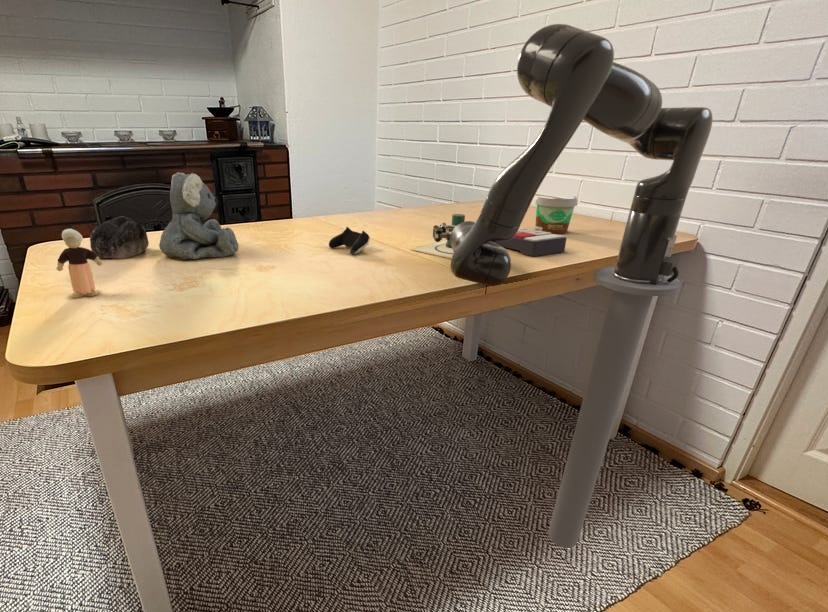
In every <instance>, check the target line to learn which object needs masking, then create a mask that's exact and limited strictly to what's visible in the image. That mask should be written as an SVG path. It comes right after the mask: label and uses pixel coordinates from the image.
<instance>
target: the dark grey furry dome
mask: <svg viewBox="0 0 828 612" xmlns="http://www.w3.org/2000/svg"><path fill="white" fill-rule="evenodd" d="M89 237H90V238H89V242H90V243H89V244H90V246H89V247H90V250H91V251H93V252H94V253H96V254H97V256H98V257H99V259H127V258H131V257H134V256H137V255H139V254H141V253H143V252H145V251H146V250H147V249H148V247H149V244H150V242H149V241H150V240H149V238H148V233H147V230H146V228H145V226H144V225H143V224H141V223H137V222H136V221H134V220H133V219H131V218H129V217H127V216H125V215H119V216H117V217H114V218H111V219H109V220H106V221H104V222H102V223H101V224H99V225H98V226H96V227H95V228H94V229H93V230H92V231H91V233H90V234H89Z"/></svg>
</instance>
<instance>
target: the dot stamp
mask: <svg viewBox="0 0 828 612" xmlns="http://www.w3.org/2000/svg"><path fill="white" fill-rule="evenodd" d="M465 219H466V215H465V214H461V213H454V214H452V215H451V225H455V226H457V225H458V224H460V223H462V222H466V221H465ZM446 247H448V248H452V247H451V244H450V241H448V240H447V242H446Z"/></svg>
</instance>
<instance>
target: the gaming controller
mask: <svg viewBox="0 0 828 612" xmlns="http://www.w3.org/2000/svg"><path fill="white" fill-rule="evenodd" d="M370 240H371V237H370V235H369V233H367V232H366V231H365V230H362V231H361V232H358V231H354V230H352V229H351V228H350V227H348V226H345V229H344V230H343V231H342V232H341V233H339V234H338V235H337V234H336V235H335V236H334V237H332V238H331V239H330V240H329V242H328V247H329V248H330V249H334V248H339V247H342V246H344V247H346V248H350V254H352V255H356V254H359V253H360V252H362V251H363V250H364V249H365V248H366V247H368V246H369V245H370Z"/></svg>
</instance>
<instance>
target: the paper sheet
mask: <svg viewBox="0 0 828 612" xmlns="http://www.w3.org/2000/svg"><path fill="white" fill-rule="evenodd" d="M446 242H447V240H446V239H443V240H440V242H434V243H430V244H426V245H423V246H419V247H415V248H412V251H415V252H418V253H424V254H428V255H432V256H435V257H440V258H445V259H449V260H451V258H452V255H453V253H454V252H453V249H452V248H448V247H446Z"/></svg>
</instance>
